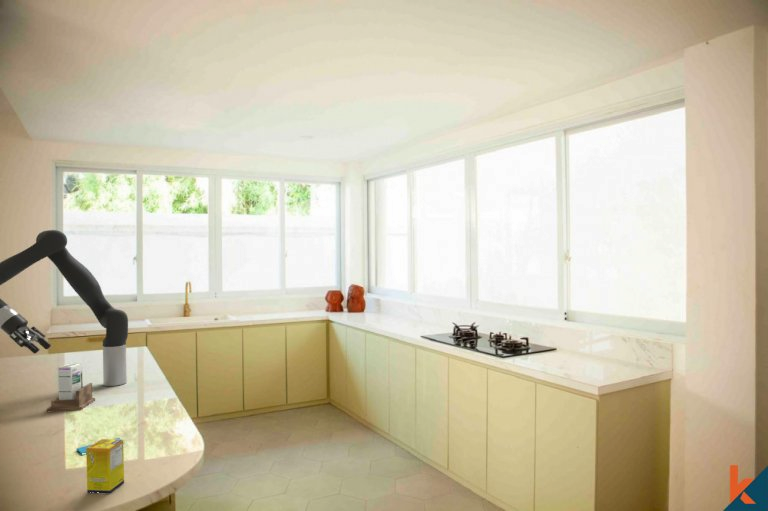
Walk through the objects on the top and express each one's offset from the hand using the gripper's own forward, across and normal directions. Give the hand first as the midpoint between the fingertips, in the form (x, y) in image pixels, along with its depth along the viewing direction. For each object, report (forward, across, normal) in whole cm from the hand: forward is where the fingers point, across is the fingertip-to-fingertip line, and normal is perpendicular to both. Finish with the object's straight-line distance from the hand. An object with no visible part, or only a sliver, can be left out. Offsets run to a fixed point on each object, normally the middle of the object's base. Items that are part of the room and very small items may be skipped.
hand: (43, 349), depth 193 cm
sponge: (+43, -48, -11) cm, 65 cm away
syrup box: (+21, 0, +8) cm, 23 cm away
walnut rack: (+22, 0, +9) cm, 24 cm away
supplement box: (+51, -77, -19) cm, 94 cm away
